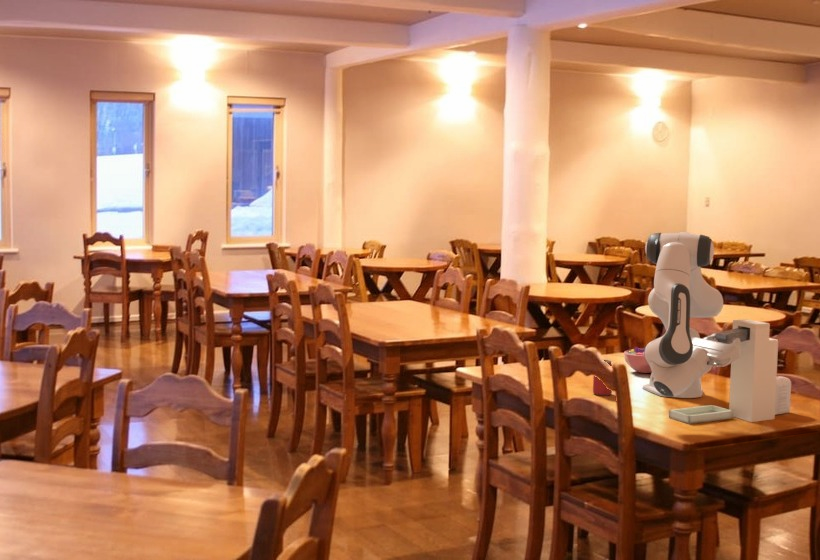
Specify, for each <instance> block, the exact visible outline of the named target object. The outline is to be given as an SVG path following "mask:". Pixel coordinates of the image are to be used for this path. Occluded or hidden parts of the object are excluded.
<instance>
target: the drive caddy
mask: <svg viewBox="0 0 820 560" xmlns="http://www.w3.org/2000/svg"><path fill="white" fill-rule="evenodd" d="M716 334H717V340H716V342H721V343H725V344H730V343H733V341H732V340H733V339H734V338H739V339H740V341H741V342H743V341H747V340H750V328H747V327H740V328H736V329H733V328H732V329H728V330H725V331H720V332H717V333H716Z"/></svg>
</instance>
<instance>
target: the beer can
mask: <svg viewBox="0 0 820 560" xmlns="http://www.w3.org/2000/svg"><path fill="white" fill-rule="evenodd" d="M603 360H604V361H605V362H607V363H608V364H609V365H610V366H612V367H613V365H612V360H608V359H603ZM592 380H593V382H592V392H593V394H594V395H595V396H602V397H603V396H610V395H612V393H613V390H612V391H611V390H609V389H607V388H606V386H605V385H604V384H603V382H602V381H601V380H599V379H598V378H597V377H595V376H593V379H592Z"/></svg>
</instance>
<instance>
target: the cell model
mask: <svg viewBox="0 0 820 560" xmlns="http://www.w3.org/2000/svg"><path fill="white" fill-rule="evenodd" d="M644 351H645V347H644V348H641V347H640V348H639V347H637V346H635V347H634V348H633V349H627V350H624V352H623V354H624V361H625V363H626V364H627V365H628V366H629V367H630V368H631V369H632V370H633V371H636V372H639V373H642V374H651V373H652V371H651V368H650V366H649V364H648V363H647V362H646V360H645V356H644Z"/></svg>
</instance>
